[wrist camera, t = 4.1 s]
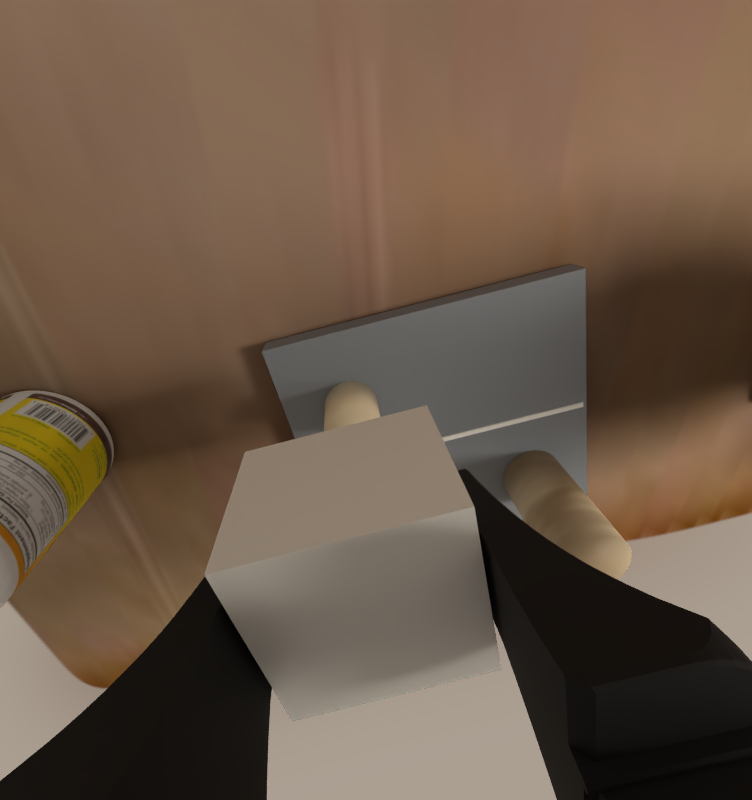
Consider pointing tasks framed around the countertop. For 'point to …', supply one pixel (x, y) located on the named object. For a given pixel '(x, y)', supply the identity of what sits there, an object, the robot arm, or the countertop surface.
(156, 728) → the robot arm
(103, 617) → the countertop surface
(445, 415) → the board
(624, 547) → the loose pin
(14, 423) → the supplement bottle
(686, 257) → the countertop surface
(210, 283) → the countertop surface
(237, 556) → the cover
